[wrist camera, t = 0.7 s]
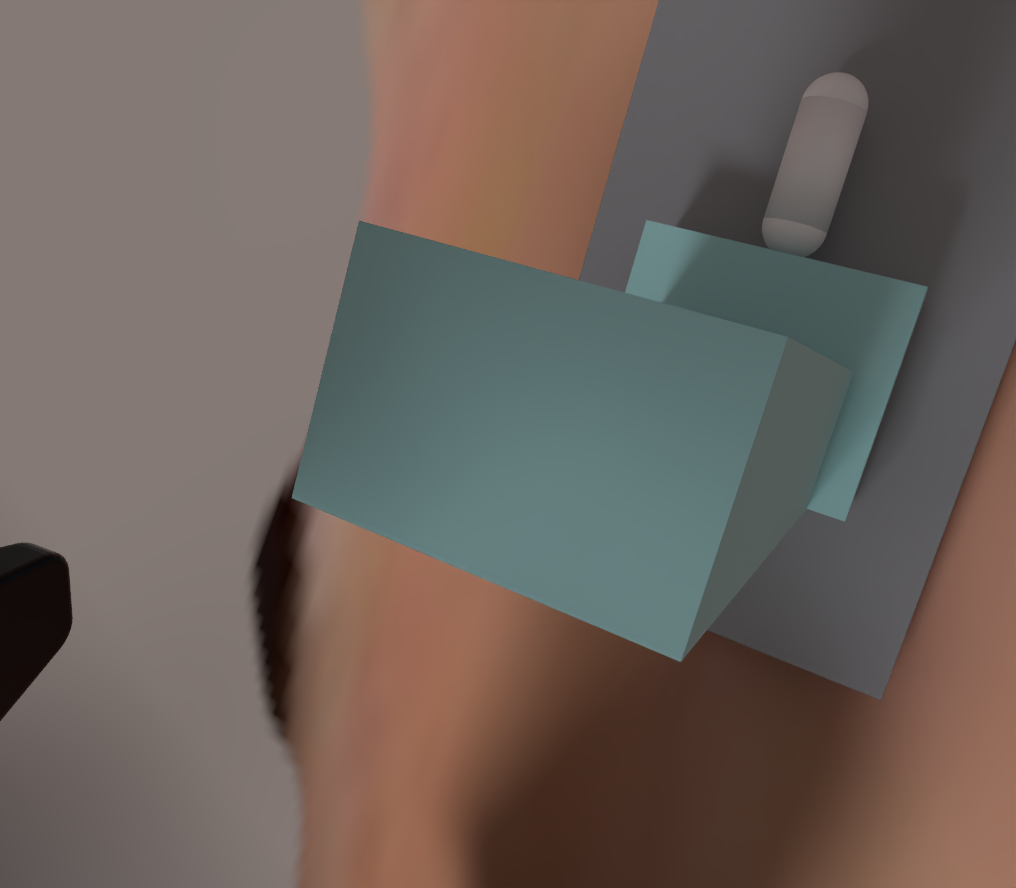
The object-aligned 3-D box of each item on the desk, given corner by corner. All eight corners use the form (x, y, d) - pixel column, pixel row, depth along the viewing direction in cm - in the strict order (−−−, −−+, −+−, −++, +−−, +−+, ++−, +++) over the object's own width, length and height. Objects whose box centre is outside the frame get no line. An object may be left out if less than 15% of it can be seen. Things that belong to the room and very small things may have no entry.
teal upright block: (849, 510, 21) (768, 699, 8) (608, 430, 23) (234, 473, 10) (990, 112, 19) (1178, -469, 6) (717, 67, 21) (444, -432, 8)
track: (882, 681, 22) (869, 900, 13) (523, 539, 26) (299, 624, 16) (1262, -340, 18) (1665, -1154, 9) (778, -339, 22) (684, -910, 12)
